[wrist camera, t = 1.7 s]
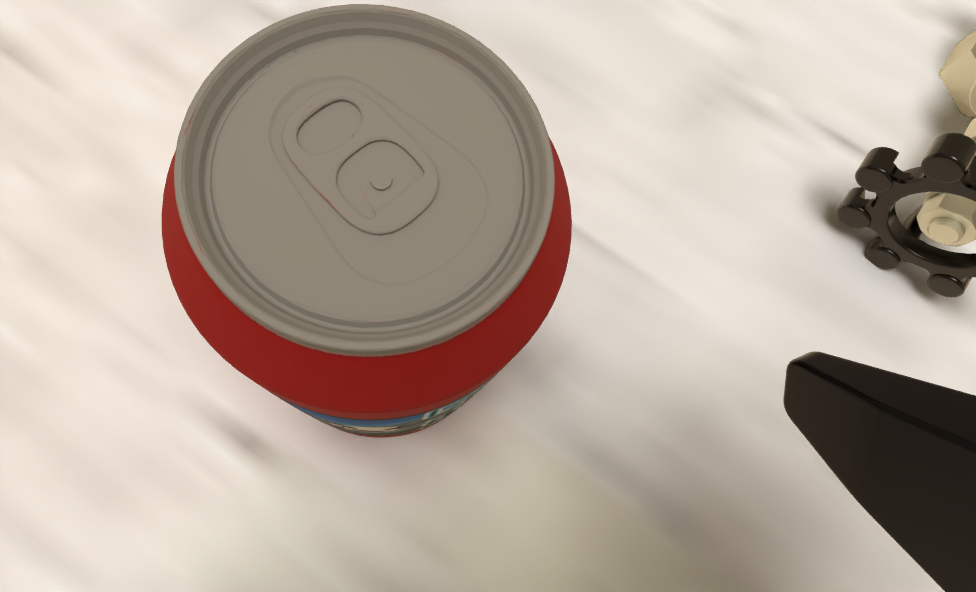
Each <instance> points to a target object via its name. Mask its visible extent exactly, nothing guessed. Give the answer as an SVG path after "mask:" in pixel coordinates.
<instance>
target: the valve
mask: <svg viewBox="0 0 976 592" xmlns="http://www.w3.org/2000/svg"><path fill="white" fill-rule="evenodd" d="M939 75H940V78H941V79H942V81H943V83H944V84H945V86H946V88H947V89H948V91H949V93H950V95H951V96H952V98H953V100H954V101H955V103H956V105H957V106H958V108H959V110H960V111H961V112H962V113H963V114H964V115H966V116H971V117H976V30H975V31H973V32H972V33H971V34H969V35H968V36H967V37H965V38H964V39H963V40H961V41H960V42H959V43H958V44H957V45H956V47H955V48H954V50H953V52H952V53H951V55H950V56H949V58H948V59H947V61H946V63H945V64H944V66H943V67H942V69H941V70H940V72H939ZM898 154H899V152H897V151H896V150H893V149H891V148H887V147H878V148H874V149H872V150H871V151H870V152H869V153H868V154H867V156H866V157H865V159H864V161H863V162H862V164H861V165H860V167H859V168H858V170H857V171H856V174H855V179H856V181H857V183H858V184H859V185H860V186H861V187H857V188H853V189H852V190H850V191H849V193H848V194H847V196H846V197H845V199H844V200H843V202H842V204H841V205H840V207H839V208H838V210H837V217H838V219H839V220H840V221H841V222H842V223H843V224H845V225H846V226H849V227H851V228H856V229H861V228H865V227H869V228H871V229H873V230H875V231H876V232H877V235H876V237H875V239H874V240H873V242H872V244H871V245H870V247H869V249H868V250H867V252H866V257H867V259H868V260H869V261H870V262H871V263H873V264H874V265H875V266H877V267H879V268H882V269H895V268H897V267H898V266H899V265H900V263H902V262H910V263H913V264H916V265H918V266H920V267H922V268H925V269H926V270H928V271H929V272H930V276H929V278H928V280H927V284H928V286H929V288H930V289H931V290H932V291H934V292H935V293H937V294H939V295H942V296H945V297H958V296H961V295H962V294H963V293H964V292H965V290H966V288H967V286H968V284H969V282H970V281H971V279H972V277H976V254H965V253H955V252H950V251H946V250H942V249H939V248H936V247H934V246H931V245H929V244H927V243H925V242H923V241H921V240H919V238H920V236H921V234H922V233H923V234H924V235H925V236H926V237H928V238H930V239H932V240H934V241H936V242H939V243H942V244H946V245H950V246H961V245H964V244H967V243H969V242H972V241H974V240H976V118H975V119H973V120H972V121H971V123H970V124H969V126H968V128H967V129H966V131H965V133H964V134H960V133H947V134H943V135H941V136H939V137H938V138H937V139H936V140H935V141H934V143H933V145H932V146H931V148H930V150H929V151H928V153H927V155H926V156H925V158H924V159H923V161H922V164H921V167H917V168H913V169H909V170H906V171H904V172H903V171H901V170H899V169H898V168H897V167H896V165H895V164H894V163H893V162H894V161H895V159H896V158H897V156H898ZM865 190H868V191H871V192H875V193H876V198H875V199H872V200H869V199H865ZM921 192H927V194H926V196H925V197H924V200H923V204H922V205H921V206H920V207H919V208H918V209H916V210H915V211H914V212H913V213H912V214H911V215H910V216H909V218H908V219H907V220H906V221H905V222H904V224H903V225H902V224H901V223H900V221H899V219H898V217H897V215H896V212H895V204H896V201H898V200H899V199H901V198H903V197H905V196H908V195H910V194H915V193H921Z"/></svg>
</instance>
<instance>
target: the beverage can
mask: <svg viewBox="0 0 976 592" xmlns="http://www.w3.org/2000/svg"><path fill="white" fill-rule="evenodd" d="M571 227H572V219H571V205H570V199H569V192H568V187H567V183H566V179H565V175H564V171H563V168H562V166H561V163H560V160H559V157H558V155H557V152H556V150H555V148H554V146H553V143H552V141H551V140H550V138H549V136H548V133H547V130H546V128H545V125H544V122H543V120H542V118H541V115H540V113H539V111H538V108H537V106H536V105H535V103H534V101H533V100H532V98H531V96H530V95H529V93H528V91H527V90H526V88H525V87H524V85H523V84H522V82H521V81H520V80H519V79H518V78H517V76H516V75H515V74H514V73H513V72H512V70H511V69H510V68H509V67H508V66H507V65H506V64H505V63H504V62H503V61H502V60H501V59H500V58H499V57H498V56H497V55H496V54H495V53H493V52H492V51H491V50H490V49H489V48H487V47H486V46H485V45H483V44H482V43H481V42H480V41H478V40H476V39H475V38H473V37H472V36H470V35H469V34H467V33H465V32H464V31H462V30H460V29H458V28H456V27H455V26H452V25H450V24H448V23H446V22H444V21H442V20H439V19H436V18H434V17H431V16H428V15H425V14H422V13H419V12H415V11H412V10H407V9H402V8H397V7H391V6H384V5H368V4H350V5H340V6H331V7H325V8H319V9H315V10H311V11H307V12H303V13H300V14H297V15H294V16H291V17H288V18H286V19H283V20H281V21H279V22H276V23H274V24H272V25H270V26H268V27H266V28H264V29H262V30H261V31H259V32H258V33H256V34H254V35H253V36H251V37H250V38H248V39H247V40H245V41H244V42H243V43H241V44H240V45H239V46H238V47H236V48H235V49H234V50H233V51H231V52H230V53H229V54H228V55H227V56H226V57H225V58H224V59H223V60H222V61H221V62H220V63H219V64H218V65H217V66H216V67H215V68H214V70H213V71H212V72H211V73H210V75H209V76H208V77H207V78H206V80H205V81H204V82H203V84H202V85H201V87H200V89H199V90H198V92H197V93H196V95H195V97H194V99H193V101H192V103H191V104H190V106H189V108H188V111H187V113H186V116H185V119H184V121H183V124H182V127H181V130H180V134H179V137H178V141H177V147H176V151H175V153H174V156H173V158H172V161H171V164H170V168H169V171H168V175H167V179H166V184H165V189H164V195H163V206H162V238H163V248H164V253H165V258H166V263H167V267H168V270H169V274H170V277H171V280H172V283H173V286H174V288H175V290H176V293H177V295H178V297H179V300H180V302H181V303H182V305H183V307H184V309H185V311H186V313H187V315H188V316H189V318H190V319H191V321H192V322H193V324H194V325H195V327H196V328H197V330H198V331H199V332H200V333H201V335H202V336H203V337H204V338H205V339H206V341H207V342H208V343H209V344H210V345H211V346H212V347H213V348H214V349H215V350H216V351H217V352H218V353H219V354H220V355H221V356H222V357H223V358H224V359H225V360H226V361H227V362H228V363H230V364H231V365H232V366H233V367H234V368H236V369H237V370H238V371H239V372H241V373H242V374H244V375H245V376H247V377H248V378H250V379H251V380H253V381H254V382H256V383H257V384H259V385H260V386H262V387H263V388H265V389H266V390H268V391H269V392H271V393H272V394H274V395H275V396H277V397H279V398H280V399H282V400H284V401H285V402H287V403H289V404H290V405H292V406H294V407H295V408H297V409H299V410H301V411H302V412H304V413H306V414H308V415H310V416H312V417H313V418H315V419H317V420H319V421H321V422H323V423H326V424H328V425H330V426H332V427H335V428H337V429H339V430H342V431H345V432H348V433H352V434H356V435H361V436H367V437H393V436H401V435H406V434H410V433H413V432H417V431H420V430H422V429H425V428H427V427H429V426H431V425H433V424H435V423H437V422H439V421H440V420H442V419H444V418H445V417H447V416H448V415H449V414H451V413H452V412H453V411H455V410H456V409H458V408H459V407H460V406H462V405H463V404H464V403H465V402H466V401H467V400H469V399H470V398H471V397H472V396H473V395H474V394H475V393H477V392H478V391H479V390H480V389H481V388H482V387H483V386H484V385H486V384H487V383H488V382H489V381H490V380H491V379H492V378H493V377H494V376H495V375H496V374H497V373H498V372H499V371H500V370H501V369H502V368H503V367H504V366H505V365H506V364H507V363H508V362H509V361H510V360H511V359H512V358H513V357H514V356H515V355H516V354H517V353H518V352H519V351H520V350H521V349H522V348H523V347H524V346H525V345H526V344H527V343H528V341H529V340H530V339H531V338H532V336H533V335H534V334H535V332H536V331H537V330H538V329H539V327H540V325H541V324H542V322H543V321H544V319H545V318H546V316H547V314H548V313H549V311H550V309H551V307H552V305H553V303H554V301H555V299H556V297H557V294H558V292H559V289H560V287H561V284H562V281H563V278H564V274H565V271H566V267H567V262H568V258H569V253H570V244H571Z"/></svg>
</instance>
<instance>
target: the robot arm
mask: <svg viewBox="0 0 976 592" xmlns="http://www.w3.org/2000/svg"><path fill="white" fill-rule="evenodd" d="M784 407H785V410H786V412H787V414H788V416H789V417H790V419H791V420H792V421H793V423H794V424H795V425H796V426H797V428H798V429H799V430H800V431H801V433H802V434H803V435H804V436H805V438H806V439H807V440H808V441H809V442H810V444H811V445H812V446H813V447H814V449H815V450H816V451H817V452H818V454H819V455H820V456H821V457H822V459H823V460H824V461H825V462H826V464H827V465H828V466H829V467H830V469H831V470H832V471H833V472H834V474H835V475H836V476H837V477H838V478H839V480H840V481H841V482H842V483H843V485H844V486H845V487H846V488H847V490H848V491H849V492H850V493H851V494H852V495H853V497H854V498H855V499H856V500H857V501H858V502H859V503H860V504H861V506H862V507H863V508H864V509H865V510H866V511H867V512H868V513H869V514H870V515H871V516H872V517H873V518H874V519H875V520H876V521H877V522H878V523H879V524H880V525H881V526H882V527H883V528H884V529H885V531H886V532H887V533H888V534H889V535H890V536H891V537H892V538H893V539H894V540H895V541H896V542H897V543H898V544H899V545H900V546H901V547H902V548H903V549H904V550H905V551H906V552H907V553H908V554H909V555H910V556H911V557H912V558H913V559H914V560H915V561H916V562H917V563H918V564H919V565H920V566H921V567H922V568H923V569H924V570H925V571H926V572H927V574H928V575H929V576H930V577H931V578H932V579H933V580H934V581H935V582H936V583H937V584H938V585H939V586H940V587H941V588H942V589H943V590H944V591H945V592H976V396H975V395H971V394H968V393H964V392H961V391H957V390H953V389H950V388H946V387H943V386H939V385H936V384H932V383H929V382H925V381H921V380H918V379H914V378H911V377H907V376H904V375H900V374H897V373H893V372H889V371H886V370H882V369H879V368H875V367H872V366H868V365H865V364H861V363H857V362H854V361H850V360H847V359H843V358H840V357H836V356H833V355H829V354H826V353H822V352H810V353H807V354H805V355H803V356H800V357H798V358H796V359H794V360H792V361H790V363H789V364H788V366H787V370H786V380H785V390H784Z"/></svg>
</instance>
